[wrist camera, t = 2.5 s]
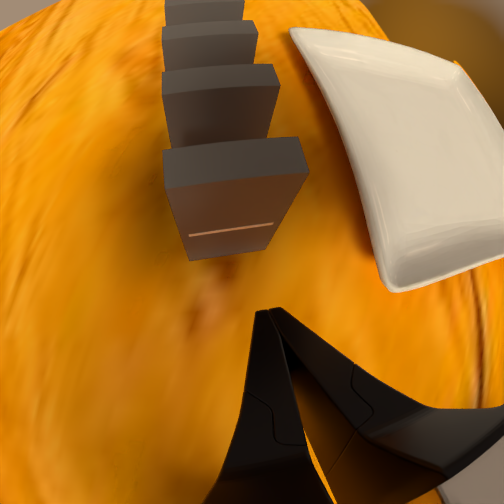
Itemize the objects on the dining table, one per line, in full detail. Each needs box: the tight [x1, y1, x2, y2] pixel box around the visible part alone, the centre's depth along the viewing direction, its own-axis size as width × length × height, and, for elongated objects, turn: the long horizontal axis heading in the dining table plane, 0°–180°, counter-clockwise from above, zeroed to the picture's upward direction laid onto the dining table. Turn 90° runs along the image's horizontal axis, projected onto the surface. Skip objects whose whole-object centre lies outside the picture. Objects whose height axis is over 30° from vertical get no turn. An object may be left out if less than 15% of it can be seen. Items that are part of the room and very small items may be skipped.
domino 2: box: [162, 20, 258, 72], centre depth 17 cm, size 2×5×10 cm, turn 101°
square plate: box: [289, 27, 504, 293], centre depth 23 cm, size 27×27×4 cm
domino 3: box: [162, 64, 281, 149], centre depth 16 cm, size 2×5×10 cm, turn 101°
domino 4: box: [163, 137, 309, 261], centre depth 15 cm, size 2×5×10 cm, turn 101°
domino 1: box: [165, 0, 245, 26], centre depth 18 cm, size 2×5×10 cm, turn 101°
